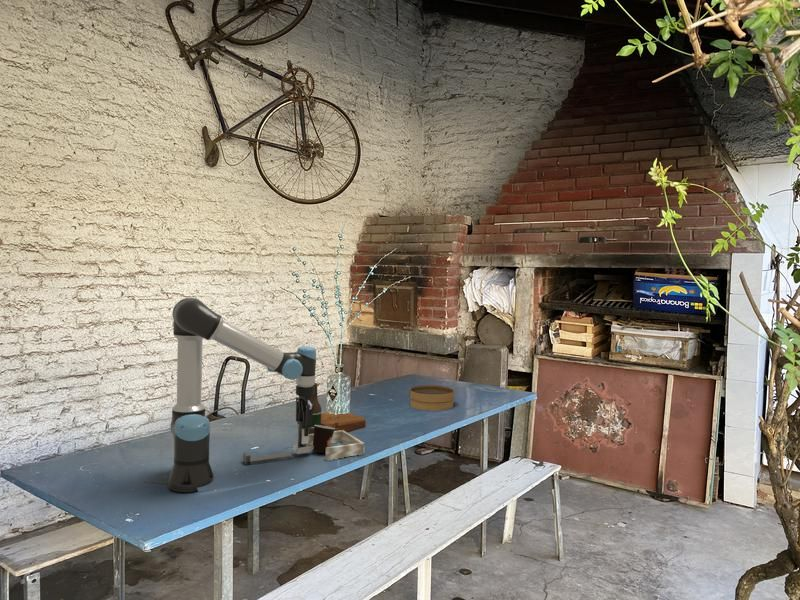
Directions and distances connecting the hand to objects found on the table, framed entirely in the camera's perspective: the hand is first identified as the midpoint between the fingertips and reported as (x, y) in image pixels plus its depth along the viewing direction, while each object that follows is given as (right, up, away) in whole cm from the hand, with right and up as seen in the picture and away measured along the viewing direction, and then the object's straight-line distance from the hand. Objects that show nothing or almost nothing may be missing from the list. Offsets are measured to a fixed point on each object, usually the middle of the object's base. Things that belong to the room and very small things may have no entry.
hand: (302, 441), depth 232 cm
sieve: (+57, -4, +86) cm, 104 cm away
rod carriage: (+3, -4, +2) cm, 5 cm away
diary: (+8, -4, +41) cm, 42 cm away
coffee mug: (+7, -5, +5) cm, 10 cm away
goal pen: (+12, -6, +8) cm, 15 cm away
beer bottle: (-1, -4, +28) cm, 28 cm away
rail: (-13, -5, -7) cm, 15 cm away
